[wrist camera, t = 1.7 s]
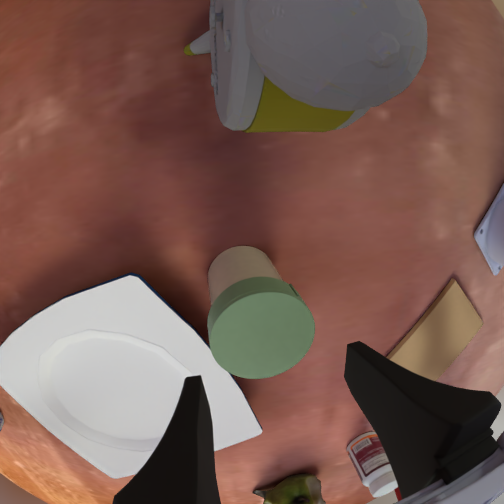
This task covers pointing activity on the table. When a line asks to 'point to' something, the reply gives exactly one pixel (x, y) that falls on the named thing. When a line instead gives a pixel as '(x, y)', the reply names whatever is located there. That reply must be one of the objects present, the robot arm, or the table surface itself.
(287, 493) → the fruit
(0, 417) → the beverage can
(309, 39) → the alarm clock
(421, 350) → the plate
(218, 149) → the table surface
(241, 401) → the plate
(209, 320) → the jar lid
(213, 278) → the jar
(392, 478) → the pill bottle
